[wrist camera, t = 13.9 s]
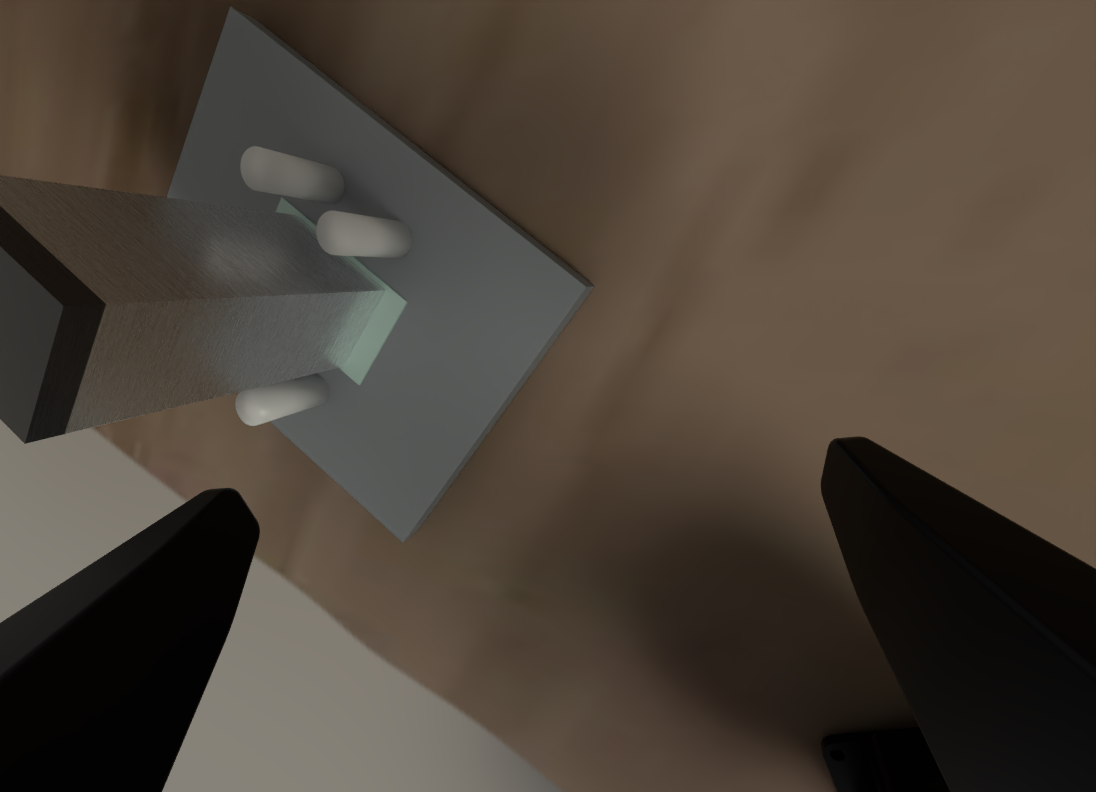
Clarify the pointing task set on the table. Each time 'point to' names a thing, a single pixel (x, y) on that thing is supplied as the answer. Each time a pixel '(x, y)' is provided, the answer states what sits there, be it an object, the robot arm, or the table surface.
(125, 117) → the table surface
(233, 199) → the dock
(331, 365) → the block
